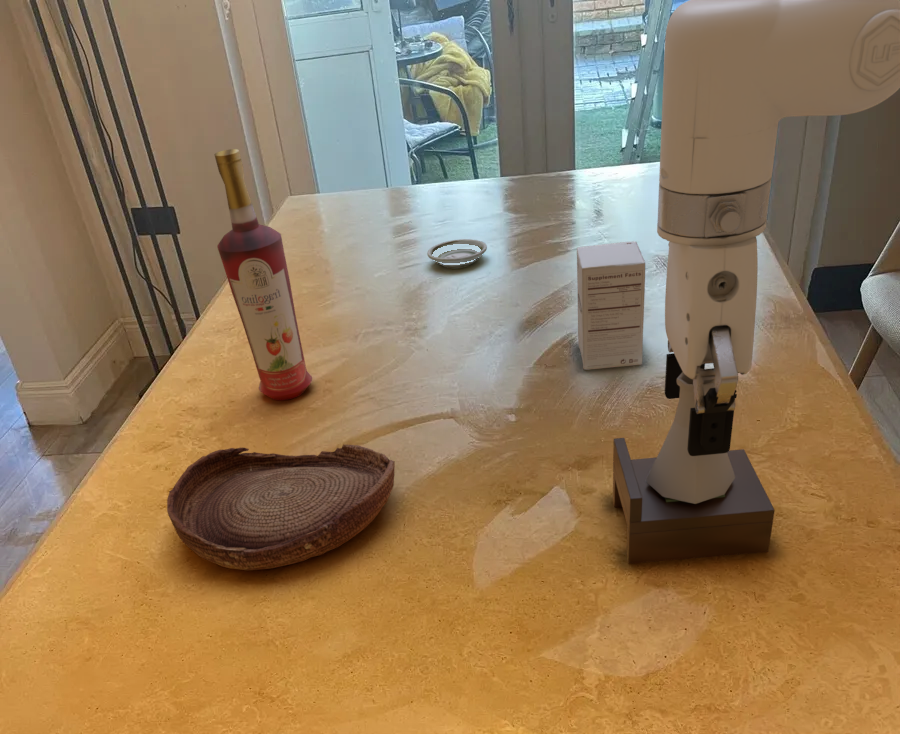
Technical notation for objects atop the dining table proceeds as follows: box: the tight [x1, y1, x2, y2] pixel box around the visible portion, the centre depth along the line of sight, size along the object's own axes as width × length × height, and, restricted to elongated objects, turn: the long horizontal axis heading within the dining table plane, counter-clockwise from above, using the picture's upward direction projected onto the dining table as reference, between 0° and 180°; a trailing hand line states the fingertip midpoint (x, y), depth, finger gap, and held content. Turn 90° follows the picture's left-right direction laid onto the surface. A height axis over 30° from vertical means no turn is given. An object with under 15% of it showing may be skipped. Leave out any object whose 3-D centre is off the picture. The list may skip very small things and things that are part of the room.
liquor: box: [214, 148, 313, 401], centre depth 100 cm, size 7×7×28 cm
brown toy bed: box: [612, 437, 776, 565], centre depth 75 cm, size 12×10×7 cm
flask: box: [646, 369, 735, 504], centre depth 71 cm, size 7×7×10 cm
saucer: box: [426, 238, 488, 270], centre depth 137 cm, size 10×10×2 cm
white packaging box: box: [576, 240, 646, 371], centre depth 102 cm, size 7×7×13 cm
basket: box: [166, 443, 396, 571], centre depth 84 cm, size 22×20×5 cm
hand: (695, 422), depth 71 cm, fingers open, 9 cm apart
